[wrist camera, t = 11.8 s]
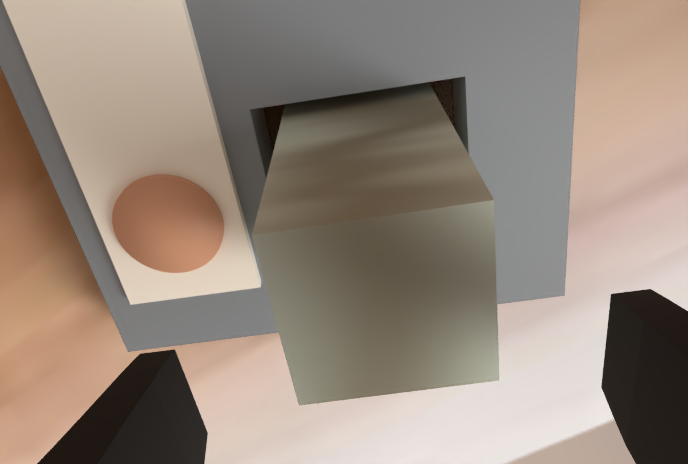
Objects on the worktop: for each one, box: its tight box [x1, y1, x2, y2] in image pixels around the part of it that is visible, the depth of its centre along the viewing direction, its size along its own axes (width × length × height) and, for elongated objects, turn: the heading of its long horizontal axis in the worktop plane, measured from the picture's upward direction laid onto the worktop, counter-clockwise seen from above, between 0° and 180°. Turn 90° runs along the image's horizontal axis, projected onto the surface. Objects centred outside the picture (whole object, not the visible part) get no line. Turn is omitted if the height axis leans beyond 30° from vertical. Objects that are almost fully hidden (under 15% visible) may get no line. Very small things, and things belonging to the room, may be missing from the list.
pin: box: [252, 82, 499, 405], centre depth 14 cm, size 4×4×8 cm
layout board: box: [0, 0, 580, 352], centre depth 14 cm, size 14×18×2 cm
